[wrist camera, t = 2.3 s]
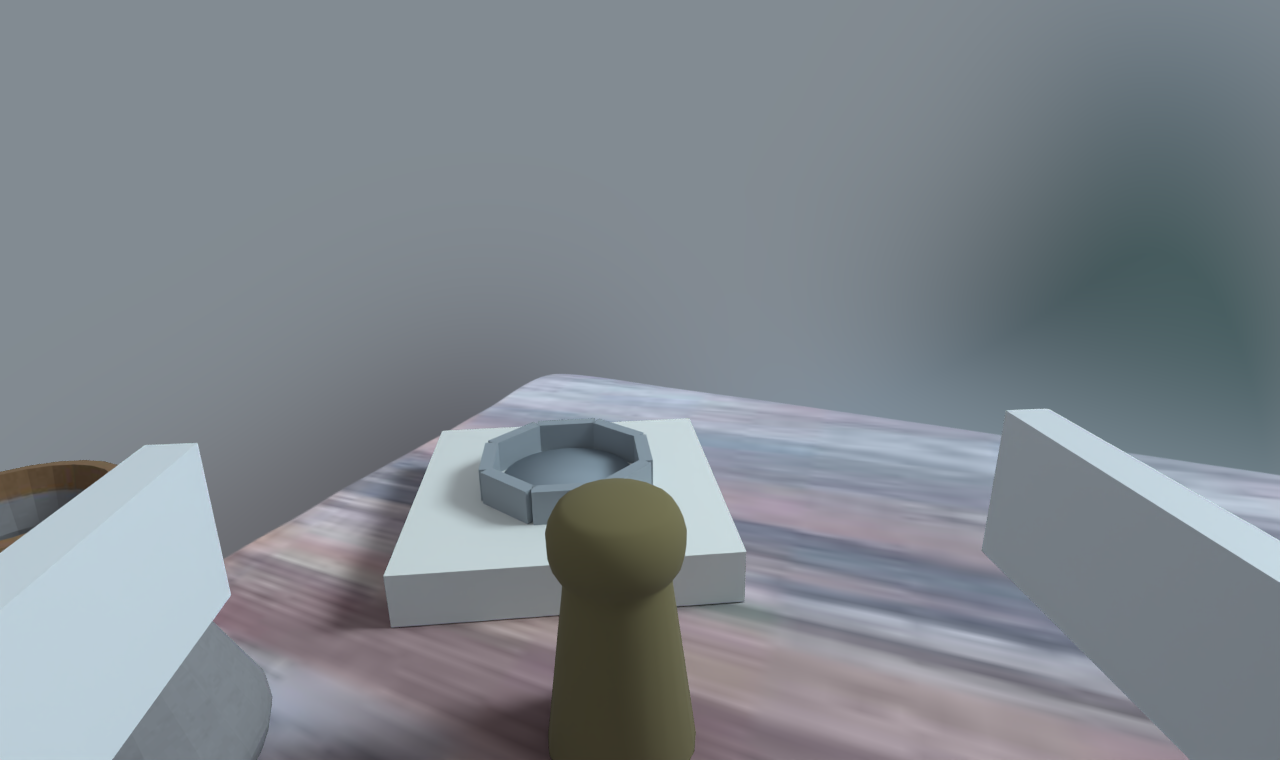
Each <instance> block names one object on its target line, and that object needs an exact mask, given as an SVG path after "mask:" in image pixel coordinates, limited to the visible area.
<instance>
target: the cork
mask: <svg viewBox="0 0 1280 760" xmlns="http://www.w3.org/2000/svg"><path fill="white" fill-rule="evenodd" d="M545 540H546V551H547V560H548V563H549V565H550V568H551V571H552V573H553V574H554V576H555V577H556V579H557V580H558V581H559V583H560V584H561V585H562V592H561V603H560V614H559V625H558V636H557V647H556V657H555V668H554V679H553V690H552V701H551V712H550V723H549V733H548V740H549V754H550V757H551V759H552V760H690V758H691V756H692V754H693V752H694V747H695V735H696V731H695V725H694V718H693V712H692V705H691V698H690V692H689V685H688V679H687V672H686V666H685V659H684V652H683V646H682V639H681V633H680V626H679V619H678V613H677V606H676V600H675V593H674V587H673V580H674V578H675V577H676V576H677V574H678V573H679V571H680V570H681V567H682V564H683V561H684V557H685V552H686V545H687V528H686V525H685V521H684V517H683V515H682V513H681V511H680V508H679V506H678V505H677V504H676V502H675V501H674V499H673V498H672V497H671V496H670V495H669V494H668V493H667V492H665V491H664V490H663V489H661V488H659V487H656V486H654V485H652V484H649V483H647V482H643V481H639V480H634V479H624V478H611V479H601V480H597V481H593V482H589V483H586V484H583V485H581V486H579V487H577V488H575V489H573V490H570V491H569V492H567V493H566V494H565V495H564V496H563V497H561V498H560V499H559V500H558V502H557V504H556V505H555V507H554V509H553V510H552V512H551V514H550V516H549V518H548V521H547V526H546V530H545Z"/></svg>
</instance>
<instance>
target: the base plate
mask: <svg viewBox="0 0 1280 760" xmlns="http://www.w3.org/2000/svg"><path fill="white" fill-rule="evenodd" d="M611 478H624V479H634V480H639V481H643V482H647V483H649V484H652V485H654V486H656V487H659V488H661V489H663V490H664V491H665V492H667V493H668V494H669V495H670V496H671V497H672V498H673V499H674V501H675V502H676V504H677V505H678V506H679V508H680V511H681V513H682V515H683V517H684V521H685V525H686V528H687V545H686V552H685V557H684V561H683V564H682V567H681V570H680V571H679V573H678V574H677V576H676V577H675V578H674V580H673V587H674V593H675V600H676V606H690V605H703V604H717V603H730V602H744V597H745V572H746V550H745V548H744V545H743V543H742V541H741V538H740V536H739V534H738V531H737V529H736V527H735V524H734V522H733V520H732V517H731V515H730V513H729V510H728V508H727V506H726V503H725V501H724V499H723V496H722V494H721V492H720V489H719V487H718V484H717V482H716V480H715V477H714V475H713V473H712V470H711V468H710V466H709V463H708V461H707V459H706V456H705V454H704V452H703V449H702V447H701V445H700V442H699V440H698V438H697V435H696V433H695V431H694V428H693V426H692V424H691V421H690V419H689V418H685V419H666V420H646V421H627V422H608V421H605V420H602V419H598V420H596V421H595V418H590V419H570V420H550V421H538V424H537V423H534V422H532V423H530V424H527V425H525V426H522V427H509V428H490V429H470V430H450V431H442V433H441V436H440V438H439V441H438V443H437V446H436V448H435V450H434V453H433V455H432V458H431V460H430V463H429V465H428V468H427V470H426V473H425V475H424V477H423V480H422V482H421V485H420V487H419V490H418V492H417V495H416V497H415V500H414V502H413V505H412V507H411V509H410V512H409V514H408V517H407V519H406V522H405V524H404V527H403V529H402V532H401V534H400V536H399V539H398V541H397V544H396V546H395V549H394V551H393V554H392V556H391V559H390V561H389V564H388V566H387V568H386V571H385V573H384V576H383V578H384V584H385V591H386V597H387V604H388V610H389V617H390V623H391V628H392V627H406V626H419V625H433V624H446V623H460V622H473V621H487V620H500V619H514V618H527V617H541V616H555V615H559V614H560V603H561V592H562V585H561V584H560V583H559V581H558V580H557V579H556V577H555V576H554V574H553V573H552V571H551V568H550V565H549V563H548V560H547V551H546V540H545V530H546V526H547V521H548V518H549V516H550V514H551V512H552V510H553V509H554V507H555V505H556V504H557V502H558V500H559V499H560V498H561V497H563V496H564V495H565V494H566V493H567V492H569V491H570V490H573V489H575V488H577V487H579V486H581V485H583V484H586V483H589V482H593V481H597V480H601V479H611Z"/></svg>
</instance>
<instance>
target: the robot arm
mask: <svg viewBox="0 0 1280 760" xmlns="http://www.w3.org/2000/svg"><path fill="white" fill-rule="evenodd" d="M982 552H983V553H984V554H985V555H986V556H987V557H988V558H989V559H990V560H991V561H992V562H993V563H994V564H995V565H996V566H997V567H998V568H999V569H1000V570H1001V571H1002V572H1003V573H1004V574H1005V575H1006V576H1007V577H1008V578H1009V579H1010V580H1011V581H1012V582H1013V583H1014V584H1015V585H1016V586H1017V587H1018V588H1019V589H1020V590H1021V591H1022V592H1023V593H1024V594H1025V595H1026V596H1027V597H1028V598H1029V599H1030V600H1031V601H1032V602H1033V603H1034V604H1035V605H1036V606H1037V607H1038V608H1039V609H1040V610H1041V611H1042V612H1043V613H1044V614H1045V615H1046V616H1047V617H1048V618H1049V619H1050V620H1051V621H1052V622H1053V623H1054V624H1055V625H1056V626H1057V627H1058V628H1059V629H1060V630H1061V631H1062V632H1063V633H1064V634H1065V635H1066V636H1067V637H1068V638H1069V639H1070V640H1071V641H1072V642H1073V643H1074V644H1075V645H1076V646H1077V647H1078V648H1079V649H1080V650H1081V651H1082V652H1083V653H1084V654H1085V655H1086V656H1087V657H1088V658H1089V659H1090V660H1091V661H1092V662H1093V663H1094V664H1095V665H1096V666H1097V667H1098V668H1099V669H1100V670H1101V671H1102V672H1103V673H1104V674H1105V675H1106V676H1107V677H1108V678H1109V679H1110V680H1111V681H1112V682H1113V683H1114V684H1115V685H1116V686H1117V687H1118V688H1119V689H1120V690H1121V691H1122V692H1123V693H1124V694H1125V695H1126V696H1127V697H1128V698H1129V699H1130V700H1131V701H1132V702H1133V703H1134V704H1135V705H1136V706H1137V707H1138V708H1139V709H1140V710H1141V711H1142V712H1143V713H1144V714H1145V715H1146V716H1147V717H1148V718H1149V719H1150V720H1151V721H1152V722H1153V723H1154V724H1155V725H1156V726H1157V727H1158V728H1159V729H1160V730H1161V731H1162V732H1163V733H1164V734H1165V735H1166V736H1167V737H1168V738H1169V739H1170V740H1171V741H1172V742H1173V743H1174V744H1175V745H1176V746H1177V747H1178V748H1179V749H1180V750H1181V751H1182V752H1183V753H1184V754H1185V755H1186V756H1187V757H1188V758H1189V759H1190V760H1280V541H1279V540H1278V539H1276V538H1274V537H1272V536H1271V535H1269V534H1267V533H1265V532H1264V531H1262V530H1260V529H1258V528H1257V527H1255V526H1253V525H1251V524H1250V523H1248V522H1246V521H1244V520H1243V519H1241V518H1239V517H1237V516H1236V515H1234V514H1232V513H1230V512H1229V511H1227V510H1225V509H1223V508H1222V507H1220V506H1218V505H1216V504H1215V503H1213V502H1211V501H1209V500H1208V499H1206V498H1204V497H1202V496H1201V495H1199V494H1197V493H1195V492H1194V491H1192V490H1190V489H1188V488H1187V487H1185V486H1183V485H1181V484H1180V483H1178V482H1176V481H1174V480H1172V479H1171V478H1169V477H1167V476H1165V475H1164V474H1162V473H1160V472H1158V471H1157V470H1155V469H1153V468H1151V467H1150V466H1148V465H1146V464H1144V463H1143V462H1141V461H1139V460H1137V459H1136V458H1134V457H1132V456H1130V455H1129V454H1127V453H1125V452H1123V451H1122V450H1120V449H1118V448H1116V447H1115V446H1113V445H1111V444H1109V443H1108V442H1106V441H1104V440H1102V439H1101V438H1099V437H1097V436H1095V435H1094V434H1092V433H1090V432H1088V431H1087V430H1085V429H1083V428H1081V427H1079V426H1078V425H1076V424H1074V423H1073V422H1071V421H1069V420H1067V419H1066V418H1064V417H1062V416H1060V415H1059V414H1057V413H1055V412H1053V411H1051V410H1050V409H1029V410H1006V413H1005V419H1004V425H1003V431H1002V436H1001V442H1000V448H999V453H998V459H997V465H996V471H995V476H994V482H993V488H992V494H991V499H990V505H989V511H988V517H987V522H986V528H985V534H984V540H983V545H982ZM230 596H231V593H230V589H229V584H228V580H227V575H226V570H225V566H224V561H223V557H222V553H221V548H220V544H219V539H218V534H217V530H216V525H215V520H214V516H213V511H212V507H211V503H210V498H209V493H208V489H207V484H206V480H205V475H204V471H203V466H202V461H201V457H200V453H199V448H198V443H187V444H162V445H144V446H143V447H142V448H141V449H139V450H138V451H136V452H135V453H134V454H132V455H131V456H130V457H129V458H127V459H126V460H124V461H123V462H122V463H120V464H119V465H118V466H116V467H115V468H114V469H112V470H111V471H110V472H108V473H107V474H105V475H104V476H103V477H101V478H100V479H99V480H97V481H96V482H95V483H93V484H92V485H91V486H89V487H88V488H87V489H85V490H84V491H83V492H81V493H80V494H79V495H77V496H76V497H75V498H73V499H72V500H71V501H69V502H68V503H67V504H65V505H64V506H63V507H61V508H60V509H58V510H57V511H56V512H54V513H53V514H52V515H50V516H49V517H48V518H46V519H45V520H44V521H42V522H41V523H40V524H38V525H37V526H36V527H34V528H33V529H32V530H30V531H29V532H28V533H26V534H25V535H24V536H22V537H21V538H20V539H18V540H17V541H15V542H14V543H13V544H11V545H10V546H9V547H7V548H6V549H5V550H3V551H2V552H1V553H0V760H112V759H113V758H114V757H115V755H116V754H117V752H118V751H119V750H120V748H121V747H122V745H123V744H124V743H125V741H126V740H127V739H128V737H129V736H130V734H131V733H132V732H133V730H134V729H135V727H136V726H137V725H138V723H139V722H140V720H141V719H142V718H143V716H144V715H145V714H146V712H147V711H148V709H149V708H150V707H151V705H152V704H153V702H154V701H155V700H156V698H157V697H158V696H159V694H160V693H161V691H162V690H163V689H164V687H165V686H166V684H167V683H168V682H169V680H170V679H171V678H172V676H173V675H174V673H175V672H176V671H177V669H178V668H179V666H180V665H181V664H182V662H183V661H184V660H185V658H186V657H187V655H188V654H189V653H190V651H191V650H192V648H193V647H194V646H195V644H196V643H197V641H198V640H199V639H200V637H201V636H202V635H203V633H204V632H205V630H206V629H207V628H208V626H209V625H210V623H211V622H212V621H213V619H214V618H215V617H216V615H217V614H218V612H219V611H220V610H221V608H222V607H223V605H224V604H225V603H226V601H227V600H228V599H229V597H230Z"/></svg>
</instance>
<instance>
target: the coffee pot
mask: <svg viewBox="0 0 1280 760" xmlns="http://www.w3.org/2000/svg"><path fill="white" fill-rule="evenodd" d="M116 466H118V465H115V464H112V463H108V462H104V461H89V460H79V461H60V462H52V463H46V464H38V465H31V466H26V467H21V468H16V469H12V470H7V471H3V472H0V553H1V552H2V551H3V550H5V549H6V548H7V547H9V546H10V545H11V544H13V543H14V542H15V541H17V540H18V539H20V538H21V537H22V536H24V535H25V534H26V533H28V532H29V531H30V530H32V529H33V528H34V527H36V526H37V525H38V524H40V523H41V522H42V521H44V520H45V519H46V518H48V517H49V516H50V515H52V514H53V513H54V512H56V511H57V510H58V509H60V508H61V507H63V506H64V505H65V504H67V503H68V502H69V501H71V500H72V499H73V498H75V497H76V496H77V495H79V494H80V493H81V492H83V491H84V490H85V489H87V488H88V487H89V486H91V485H92V484H93V483H95V482H96V481H97V480H99V479H100V478H101V477H103V476H104V475H105V474H107V473H108V472H110V471H111V470H112V469H114V468H115V467H116ZM271 706H272V694H271V691H270V688H269V685H268V682H267V678H266V675H265V673H264V671H263V669H262V668H261V667H260V666H259V665H258V664H256V663H255V662H254V661H253V660H252V659H251V658H250V657H249V656H248V655H247V654H246V653H245V652H244V651H243V650H242V649H241V648H240V647H239V646H238V645H237V644H236V643H235V642H234V641H233V640H232V639H231V638H230V637H229V636H228V635H226V634H225V633H224V632H223V631H222V630H221V629H220V628H219V627H218V626H217V625H216V624H215V623H214V622H213V621H212V622H211V623H210V625H209V626H208V628H207V629H206V630H205V632H204V633H203V635H202V636H201V637H200V639H199V640H198V641H197V643H196V644H195V646H194V647H193V648H192V650H191V651H190V653H189V654H188V655H187V657H186V658H185V660H184V661H183V662H182V664H181V665H180V666H179V668H178V669H177V671H176V672H175V673H174V675H173V676H172V678H171V679H170V680H169V682H168V683H167V684H166V686H165V687H164V689H163V690H162V691H161V693H160V694H159V696H158V697H157V698H156V700H155V701H154V702H153V704H152V705H151V707H150V708H149V709H148V711H147V712H146V714H145V715H144V716H143V718H142V719H141V720H140V722H139V723H138V725H137V726H136V727H135V729H134V730H133V732H132V733H131V734H130V736H129V737H128V739H127V740H126V741H125V743H124V744H123V745H122V747H121V748H120V750H119V751H118V752H117V754H116V755H115V757H114V758H113V759H112V760H257V758H258V756H259V754H260V752H261V750H262V747H263V744H264V741H265V738H266V735H267V732H268V727H269V720H270V713H271Z"/></svg>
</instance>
